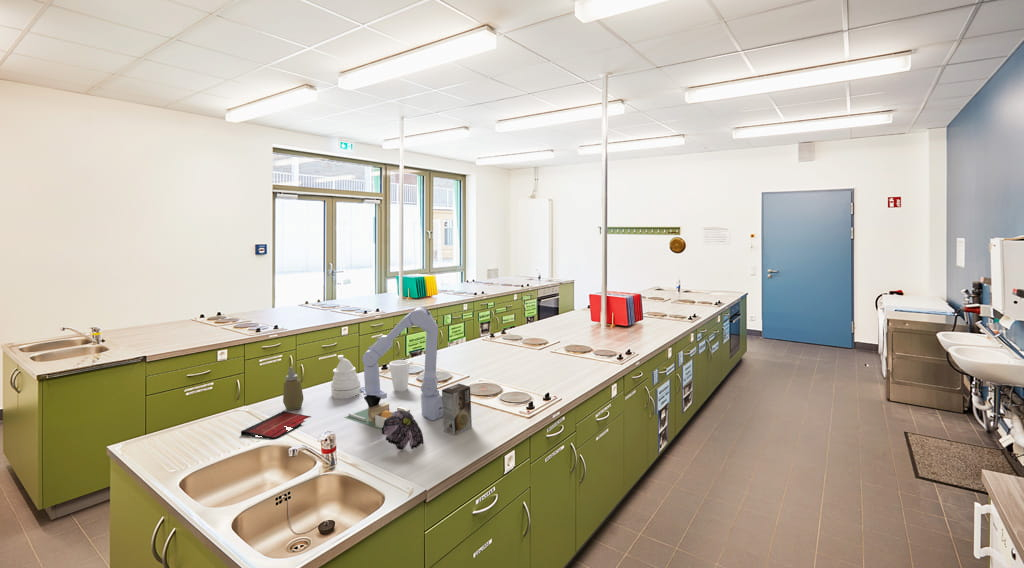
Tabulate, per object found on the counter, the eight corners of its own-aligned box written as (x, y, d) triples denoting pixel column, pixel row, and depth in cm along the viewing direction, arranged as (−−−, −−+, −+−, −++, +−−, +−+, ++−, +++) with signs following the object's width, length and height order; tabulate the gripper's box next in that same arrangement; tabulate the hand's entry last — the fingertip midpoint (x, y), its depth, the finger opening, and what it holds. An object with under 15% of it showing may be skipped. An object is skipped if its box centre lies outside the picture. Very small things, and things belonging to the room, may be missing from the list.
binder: (240, 430, 178) (282, 410, 198) (240, 436, 178) (282, 415, 198) (275, 436, 173) (315, 415, 193) (275, 442, 173) (315, 421, 193)
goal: (410, 419, 187) (409, 409, 187) (386, 429, 178) (386, 419, 177) (399, 416, 191) (398, 406, 191) (375, 426, 182) (375, 415, 181)
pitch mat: (413, 420, 188) (413, 416, 188) (385, 433, 177) (385, 428, 176) (372, 408, 202) (372, 404, 202) (344, 419, 191) (343, 414, 191)
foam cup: (413, 386, 231) (412, 359, 230) (407, 392, 222) (406, 365, 221) (394, 386, 232) (393, 359, 231) (387, 392, 223) (386, 365, 222)
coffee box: (460, 423, 184) (458, 383, 182) (472, 427, 180) (471, 386, 178) (442, 431, 177) (441, 389, 175) (454, 435, 173) (453, 392, 171)
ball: (386, 416, 190) (392, 420, 188) (378, 419, 186) (384, 424, 184) (387, 407, 189) (394, 412, 186) (379, 410, 185) (386, 415, 183)
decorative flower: (391, 429, 156) (384, 402, 169) (380, 458, 159) (375, 429, 172) (432, 431, 163) (423, 406, 176) (422, 459, 166) (413, 432, 179)
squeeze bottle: (296, 412, 200) (293, 370, 198) (279, 411, 202) (276, 369, 200) (308, 405, 208) (305, 365, 206) (291, 404, 210) (288, 364, 208)
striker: (389, 415, 192) (389, 403, 191) (373, 422, 185) (372, 410, 185) (384, 414, 193) (384, 402, 193) (368, 420, 187) (367, 408, 186)
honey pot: (325, 397, 218) (323, 358, 217) (343, 388, 231) (341, 351, 229) (349, 399, 215) (347, 360, 213) (366, 390, 227) (364, 353, 225)
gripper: (352, 379, 190) (354, 412, 192) (375, 385, 182) (377, 419, 183) (366, 375, 196) (368, 407, 198) (390, 380, 188) (392, 414, 189)
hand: (373, 412), depth 191 cm, fingers closed
